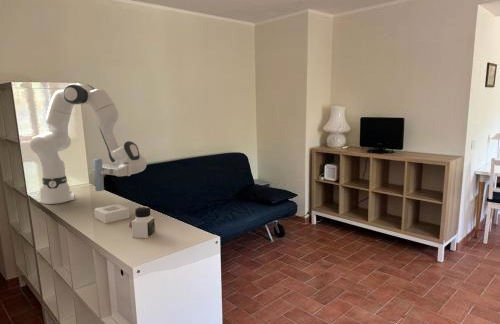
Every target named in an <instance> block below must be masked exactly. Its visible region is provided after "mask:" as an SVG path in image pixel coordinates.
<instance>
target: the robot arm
mask: <svg viewBox="0 0 500 324" xmlns="http://www.w3.org/2000/svg"><path fill="white" fill-rule="evenodd" d="M75 105H90V106H91V108H92V110H93V112H94V113H95V115H96V118H97V120H98V121H97V122H98V129H99V131H100V134H101V136H102V139H103V142H104V144H105V146H106V148H107V151H108V152H107V153H108V157H109V160H110V161H111V163H112V164H108V163H105V164H104V163H102V167H103V170H101V171H99V172H100V174H103V175H109V176H110V175H111V176H116V177H118V178H119V177H130V176H131V175H134V174H139V173H141V172H143V171H144V170H146V168H147V165H148V164H147V159H146V158H145V157H143V156H142V154H141V153H140V151H139V147H138V145H137V144H136V143H135V142H134V141H130V140H129V141H126V142H124V143H121V144H120V145H119V144H118V142H117V139H116V137H115V135H114V127H115V125H116V123H117V121H118V119H119V111H118V108H117V106H116V104H115V102H114V101H113V99H112V98H111V97H110V95H109V94H108V93H107V91H106V90H105V89H103V88H94V87H93V86H91V85H89V84H84V83H70V84H68V85H65V87H64V88H63V89H58V90H56V91H55V92H54V94H53V95H52V97H51V99H50V103H49V106H48V109H47V113H46V117H45V122H46V124H47V125H48V131H47V132H46V133H40V134H38V135H36V136H32V138H31V140H30V142H29V147H30V149H31V151H32V152H33V153H35V154H36V155H37V157H38V158H39V160H40V164H41V170H42V171H41V172H42V180H41V181H42V185H41V186H40V189H39V190H40V191H39V192H40V193H39V194H40V199H38V200H37V203H42V204H45V205H54V204H56V205H57V204H62V203H66V202H68V201H69V202H70V201H74V200H75V199H76V197H75V194H74V192H72V191H71V189H70V185H69V184H68V181H67V180H68V178H67V175H66V170H65V169H66V168H65V167H66V166H65V162H64V161H63V160H62V159H61V158H60V155H59V152H63V151H64V150H67V149H68V148H69V147H70V146H71V143H72V142H71V137H70V136H69V124H70V120H71V115H72V112H73V108H74V106H75ZM92 173H93V174H94V169H93V170H92Z"/></svg>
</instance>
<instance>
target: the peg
mask: <svg viewBox="0 0 500 324" xmlns="http://www.w3.org/2000/svg"><path fill="white" fill-rule="evenodd" d="M92 160H93V161H92V162H93V170H94V173H93V174H94V187H95V192H102V191H105V185H104V184H105V183H104V174H100V172H99V171H101V170H103V167H102V164H103V158H94V159H92Z"/></svg>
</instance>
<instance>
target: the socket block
mask: <svg viewBox="0 0 500 324" xmlns="http://www.w3.org/2000/svg"><path fill="white" fill-rule="evenodd" d="M93 210H94V211H93V212H94V219H96V220H99V221H100V222H101V223H104V224H107V223H113V222H116V221H122V220H126V219H129V218H130V208H129V207H126V206H124V205H122V204H119V203H117V204H112V205H111V204H110V205H107V206H100V207H96V208H94V209H93Z"/></svg>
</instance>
